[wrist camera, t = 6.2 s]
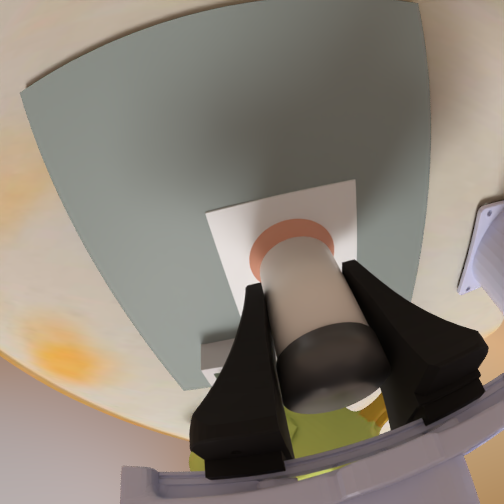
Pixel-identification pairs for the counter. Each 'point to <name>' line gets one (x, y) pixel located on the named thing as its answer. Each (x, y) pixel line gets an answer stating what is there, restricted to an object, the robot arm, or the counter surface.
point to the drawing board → (239, 157)
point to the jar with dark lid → (318, 330)
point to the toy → (325, 432)
